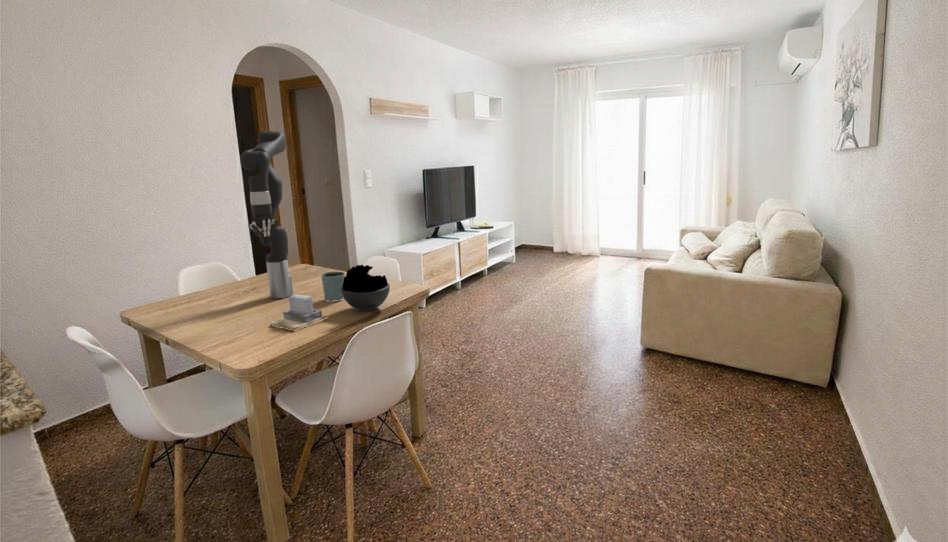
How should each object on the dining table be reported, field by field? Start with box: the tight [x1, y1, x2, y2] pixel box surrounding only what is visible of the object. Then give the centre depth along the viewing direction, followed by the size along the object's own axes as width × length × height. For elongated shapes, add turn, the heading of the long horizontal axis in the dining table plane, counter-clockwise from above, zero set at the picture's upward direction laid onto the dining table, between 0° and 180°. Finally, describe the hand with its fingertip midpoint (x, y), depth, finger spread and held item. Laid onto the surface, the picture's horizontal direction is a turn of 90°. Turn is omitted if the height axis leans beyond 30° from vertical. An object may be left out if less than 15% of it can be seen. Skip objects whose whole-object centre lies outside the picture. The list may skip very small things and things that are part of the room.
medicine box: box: [288, 294, 314, 315], centre depth 195 cm, size 8×4×9 cm, turn 68°
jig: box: [269, 308, 328, 330], centre depth 194 cm, size 16×14×4 cm
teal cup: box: [321, 271, 346, 301], centre depth 224 cm, size 10×10×12 cm
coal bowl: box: [341, 264, 391, 311], centre depth 208 cm, size 20×20×19 cm
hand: (266, 245), depth 201 cm, fingers closed
